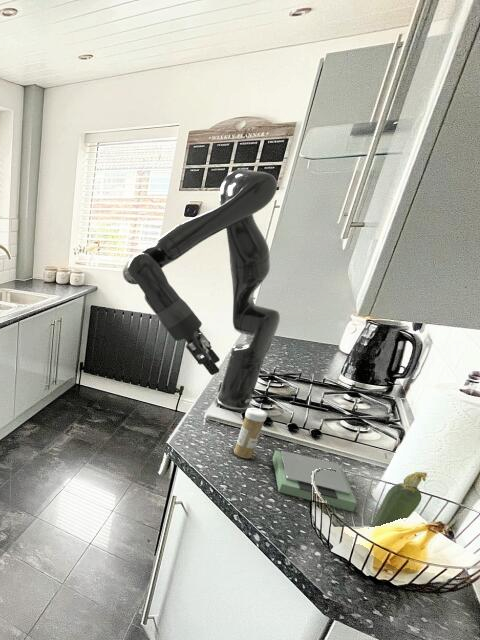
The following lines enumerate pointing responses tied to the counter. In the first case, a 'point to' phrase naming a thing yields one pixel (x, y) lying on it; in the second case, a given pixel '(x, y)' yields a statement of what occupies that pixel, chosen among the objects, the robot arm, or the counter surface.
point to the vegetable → (400, 500)
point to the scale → (305, 490)
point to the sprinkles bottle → (250, 432)
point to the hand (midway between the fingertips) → (216, 367)
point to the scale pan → (302, 467)
